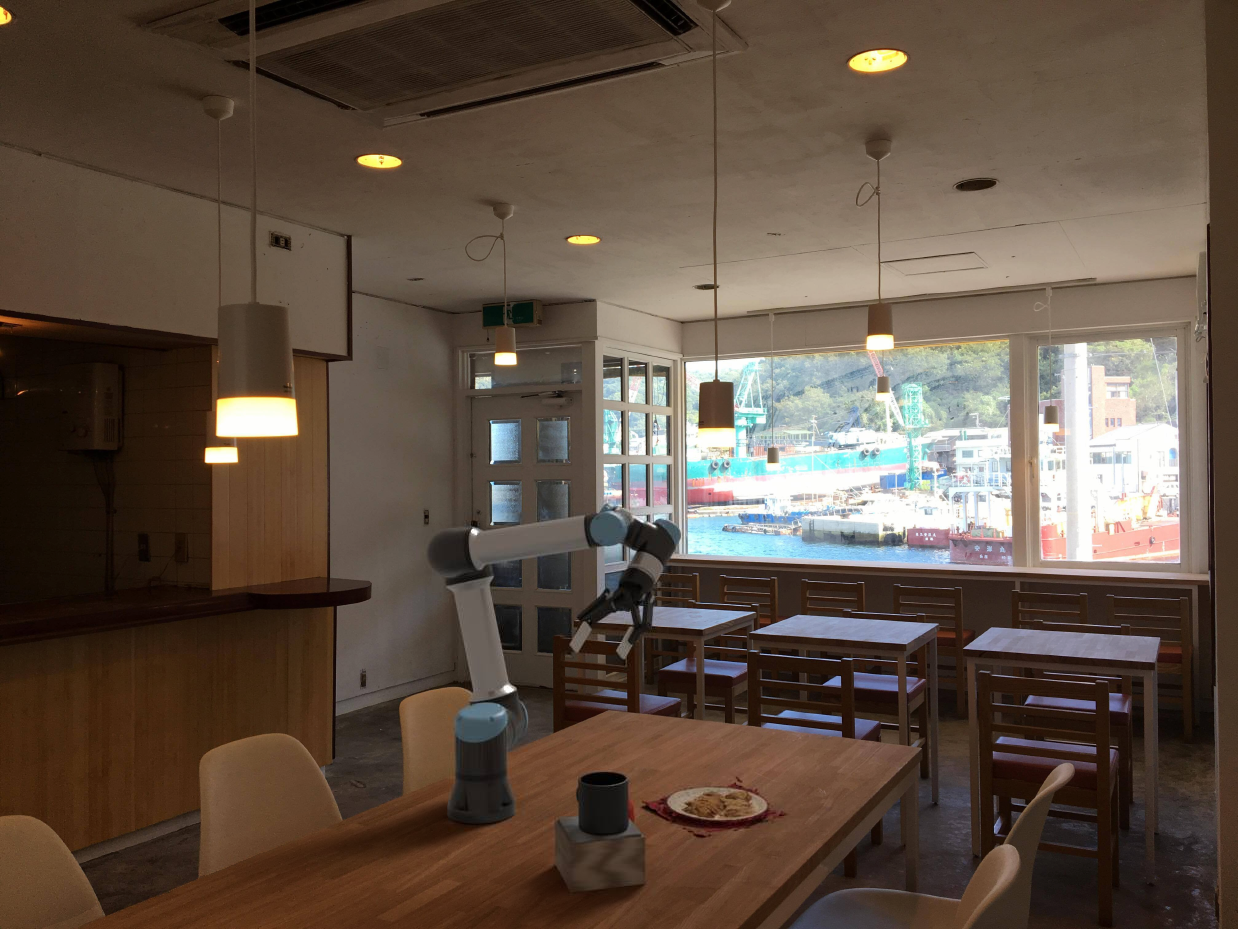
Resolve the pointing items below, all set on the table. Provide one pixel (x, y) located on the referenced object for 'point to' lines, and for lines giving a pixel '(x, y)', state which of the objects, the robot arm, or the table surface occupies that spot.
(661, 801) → the plate with food
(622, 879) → the grey square box
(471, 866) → the table surface
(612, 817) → the mug
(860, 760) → the table surface
